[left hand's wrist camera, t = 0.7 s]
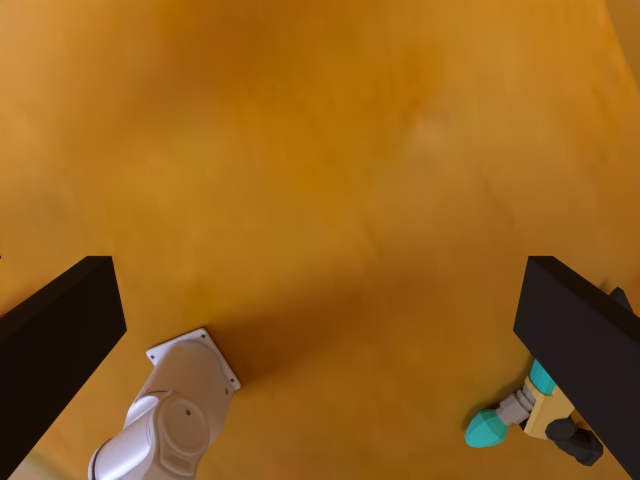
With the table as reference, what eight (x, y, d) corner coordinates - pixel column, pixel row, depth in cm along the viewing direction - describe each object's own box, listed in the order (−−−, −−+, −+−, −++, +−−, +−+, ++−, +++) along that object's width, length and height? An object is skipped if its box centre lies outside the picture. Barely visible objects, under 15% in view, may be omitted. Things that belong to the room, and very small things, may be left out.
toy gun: (723, 342, 41) (611, 286, 39) (566, 495, 49) (466, 456, 47) (686, 319, 45) (583, 267, 43) (547, 463, 54) (455, 427, 51)
